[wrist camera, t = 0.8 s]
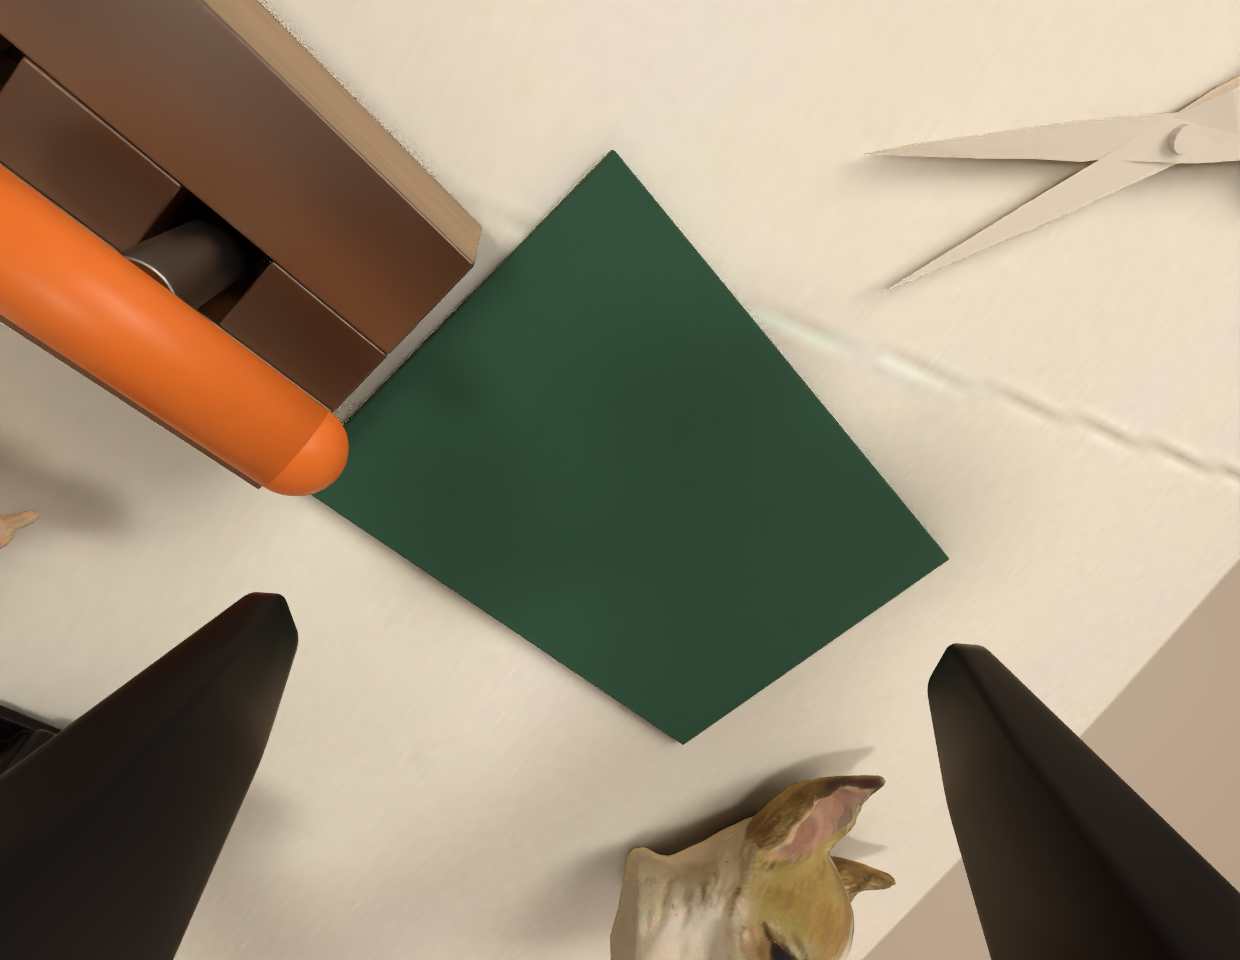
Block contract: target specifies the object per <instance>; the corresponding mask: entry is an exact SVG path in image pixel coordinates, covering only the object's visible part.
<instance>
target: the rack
mask: <svg viewBox="0 0 1240 960" xmlns="http://www.w3.org/2000/svg"><path fill="white" fill-rule="evenodd" d="M11 43H12V44H13V45H14V46H15V47H17V48H18V49H19V50H20V51H21V52H23V53H24V54H25V55H26V56H25V57H23V58H22V59H21V61H20V63H19V64H18V63H16V62H15V61H14V60H13V59H12V58H10V57H9V56H8V55H7V54H5V53H4V52H6V51H7V50H8V48H9V47H10V45H11ZM0 164H1V165H2V166H3V167H5V168H6V169H7V170H9V171H10V172H11V173H13V174H14V175H15V176H17V177H18V178H19V179H21V180H22V181H23V182H25V183H26V184H27V185H29V186H30V187H31V188H33V189H34V190H35V191H37V192H38V193H40V194H41V195H42V196H44V197H45V198H46V199H48V200H49V201H50V202H52V203H53V204H54V205H56V206H57V207H58V208H60V209H61V210H62V211H64V212H65V213H66V214H68V215H69V216H70V217H72V218H73V219H74V220H76V221H77V222H78V223H80V224H81V225H82V226H84V227H85V228H86V229H88V230H89V231H90V232H92V233H93V234H94V235H96V236H97V237H98V238H100V239H101V240H102V241H104V242H105V243H106V244H108V245H109V246H110V247H112V248H113V249H114V250H116V251H117V252H120V251H122V250H125V249H127V248H129V247H132V246H134V245H136V244H139V243H141V242H143V241H146V240H148V239H150V238H153V237H155V236H157V235H160V234H162V233H164V232H167V231H169V230H171V229H174V228H176V227H178V226H181V225H183V224H185V223H188V222H190V221H192V220H195V219H197V218H199V217H202V216H204V215H206V214H209V213H211V212H213V211H215V212H216V213H217V214H218V215H219V216H221V217H222V218H223V219H224V220H225V221H227V222H228V223H229V224H230V225H232V226H233V227H234V228H235V229H236V230H238V231H239V232H240V233H241V234H242V235H244V236H245V237H246V238H247V239H248V240H250V241H251V242H252V243H253V244H254V245H256V246H257V247H258V248H259V249H260V250H262V251H263V252H264V253H265V254H267V255H268V256H269V257H270V258H271V259H273V261H272V262H271V263H270V264H269V265H268V266H267V267H266V266H264V265H263V264H262V263H260V264H259V265H258V266H256V267H255V268H253V269H252V270H251V271H249V272H248V273H246V274H245V275H244V276H242V277H241V278H239V279H238V280H237V281H235V282H234V283H232V284H231V285H230V286H228V287H227V288H225V289H224V290H223V291H221V292H220V293H218V294H217V295H216V296H214V297H213V298H211V299H210V300H209V301H207V302H206V303H204V304H203V305H202V306H200V307H199V308H197V309H196V311H197V312H199V313H200V314H201V315H203V316H204V317H205V318H207V319H208V320H209V321H211V322H212V323H213V324H215V325H216V326H217V327H219V328H220V329H221V330H223V331H224V332H225V333H227V334H228V335H229V336H231V337H232V338H233V339H235V340H236V341H237V342H239V343H240V344H241V345H243V346H244V347H245V348H247V349H248V350H249V351H251V352H252V353H253V354H255V355H256V356H257V357H259V358H260V359H262V360H263V361H264V362H266V363H267V364H268V365H270V366H271V367H272V368H274V369H275V370H276V371H278V372H279V373H280V374H282V375H283V376H284V377H286V378H287V379H288V380H290V381H291V382H292V383H294V384H295V385H296V386H298V387H299V388H300V389H302V390H303V391H304V392H306V393H307V394H308V395H310V396H311V397H312V398H314V399H315V400H316V401H318V402H319V403H320V404H322V405H323V406H324V407H326V408H327V409H328V410H329V411H330V412H332V413H333V411H334V410H336V409H337V408H338V407H339V406H340V405H341V404H342V403H343V402H344V401H345V400H346V398H347V397H348V396H349V395H350V394H351V393H352V392H353V391H354V390H355V389H356V388H357V387H358V386H359V385H360V384H361V383H362V382H363V381H364V380H365V379H366V378H367V377H368V376H369V375H370V373H371V372H372V371H373V370H374V369H375V368H376V367H377V366H378V365H379V364H380V363H381V362H382V361H383V360H384V359H385V358H386V357H387V354H389V353H391V352H392V350H393V349H394V348H395V347H396V346H397V345H398V344H399V343H400V342H401V341H402V340H403V339H404V338H405V337H406V336H407V335H408V334H409V333H410V332H411V331H412V330H413V329H414V328H415V327H416V326H417V324H418V323H419V322H420V321H421V320H422V319H423V318H424V317H425V316H426V315H427V314H428V313H429V312H430V311H431V310H432V309H433V308H434V307H435V306H436V305H437V304H438V303H439V302H440V301H441V299H442V298H443V297H444V296H445V295H446V294H447V293H448V292H449V291H450V290H451V289H452V288H453V287H454V286H455V285H456V284H457V283H458V282H459V281H460V280H461V279H462V278H463V277H464V276H465V275H466V273H467V272H468V271H469V270H470V269H471V268H472V267H473V266H474V262H475V258H476V253H477V249H478V244H479V239H480V235H481V230H482V227H481V226H480V225H479V224H478V223H477V222H476V221H475V220H474V219H473V218H472V217H471V216H470V215H469V214H468V213H467V212H466V211H465V210H464V208H463V207H462V206H461V205H460V204H459V203H458V202H457V201H456V200H455V199H454V198H453V197H452V196H451V195H450V194H449V193H448V192H447V191H446V190H445V189H444V188H443V187H442V186H441V185H440V184H439V183H438V182H437V181H436V180H435V179H434V178H433V177H432V176H431V175H430V174H429V173H428V172H427V171H426V170H425V169H424V168H423V167H422V166H421V165H420V164H419V163H418V162H417V161H416V160H415V159H414V158H413V157H412V156H411V155H410V154H409V153H408V152H407V151H406V150H405V149H404V148H403V147H402V146H401V145H400V144H399V143H398V142H397V141H396V140H395V139H394V138H393V137H392V136H391V135H390V134H389V133H388V132H387V131H386V130H385V129H384V128H383V127H382V126H381V125H380V124H379V123H378V122H377V121H376V120H375V119H374V118H373V117H372V116H371V115H370V114H369V113H368V112H367V111H366V110H365V109H364V108H363V107H362V106H361V105H360V104H359V102H358V101H357V100H356V99H355V98H354V97H353V96H352V95H351V94H350V93H349V92H348V91H347V90H346V89H345V88H344V87H343V86H342V85H341V84H340V83H339V82H338V81H337V80H336V79H335V78H334V77H333V76H332V75H331V74H330V73H329V72H328V71H327V70H326V69H325V68H324V67H323V66H322V65H321V64H320V63H319V62H318V61H317V60H316V59H315V58H314V57H313V56H312V55H311V54H310V53H309V52H308V51H307V50H306V49H305V48H304V47H303V46H302V45H301V44H300V43H299V42H298V41H297V40H296V39H295V38H294V37H293V36H292V35H291V34H290V33H289V32H288V31H287V30H286V29H285V28H284V27H283V26H282V25H281V24H280V23H279V22H278V21H277V20H276V19H275V18H274V17H273V16H272V15H271V14H270V13H269V12H268V11H267V10H266V9H265V8H264V7H263V6H262V5H261V4H260V3H259V2H258V1H257V0H0ZM0 321H1V322H2V323H4V324H5V325H7V326H8V327H10V328H11V329H13V330H15V331H16V332H18V333H19V334H21V335H22V336H24V337H25V338H27V339H28V340H30V341H31V342H33V343H34V344H36V345H38V346H39V347H41V348H42V349H44V350H45V351H47V352H48V353H50V354H51V355H53V356H54V357H56V358H58V359H59V360H61V361H62V362H64V363H65V364H67V365H68V366H70V367H71V368H73V369H74V370H76V371H78V372H79V373H81V374H82V375H84V376H85V377H87V378H88V379H90V380H91V381H93V382H94V383H96V384H98V385H99V386H101V387H102V388H104V389H105V390H107V391H108V392H110V393H111V394H113V395H114V396H116V397H118V398H119V399H121V400H122V401H124V402H125V403H127V404H128V405H130V406H131V407H133V408H134V409H136V410H137V411H139V412H141V413H142V414H144V415H145V416H147V417H148V418H150V419H151V420H153V421H154V422H156V423H157V424H159V425H161V426H162V427H164V428H165V429H167V430H168V431H170V432H171V433H173V434H174V435H176V436H177V437H179V438H181V439H182V440H184V441H185V442H187V443H188V444H190V445H191V446H193V447H194V448H196V449H197V450H199V451H201V452H202V453H204V454H205V455H207V456H208V457H210V458H211V459H213V460H214V461H216V462H217V463H219V464H220V465H222V466H224V467H225V468H227V469H228V470H230V471H231V472H233V473H234V474H236V475H237V476H239V477H240V478H242V479H244V480H245V481H247V482H248V483H250V484H251V485H253V486H254V487H256V488H258V489H259V488H261V487H262V485H260V484H258V483H257V482H255V481H254V480H252V479H251V478H249V477H248V476H246V475H245V474H243V473H242V472H240V471H239V470H237V469H236V468H234V467H233V466H231V465H229V464H228V463H226V462H225V461H223V460H222V459H220V458H219V457H217V456H216V455H214V454H213V453H211V452H210V451H208V450H207V449H205V448H203V447H202V446H200V445H199V444H197V443H196V442H194V441H193V440H191V439H190V438H188V437H187V436H185V435H184V434H182V433H181V432H179V431H178V430H176V429H174V428H173V427H171V426H170V425H168V424H167V423H165V422H164V421H162V420H161V419H159V418H158V417H156V416H155V415H153V414H152V413H150V412H149V411H147V410H145V409H144V408H142V407H141V406H139V405H138V404H136V403H135V402H133V401H132V400H130V399H129V398H127V397H126V396H124V395H123V394H121V393H119V392H118V391H116V390H115V389H113V388H112V387H110V386H109V385H107V384H106V383H104V382H103V381H101V380H100V379H98V378H97V377H95V376H94V375H92V374H90V373H89V372H87V371H86V370H84V369H83V368H81V367H80V366H78V365H77V364H75V363H74V362H72V361H71V360H69V359H68V358H66V357H65V356H63V355H61V354H60V353H58V352H57V351H55V350H54V349H52V348H51V347H49V346H48V345H46V344H45V343H43V342H42V341H40V340H39V339H37V338H35V337H34V336H32V335H31V334H29V333H28V332H26V331H25V330H23V329H22V328H20V327H19V326H17V325H16V324H14V323H13V322H11V321H10V320H8V319H6V318H5V317H3V316H2V315H0Z"/></svg>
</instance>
